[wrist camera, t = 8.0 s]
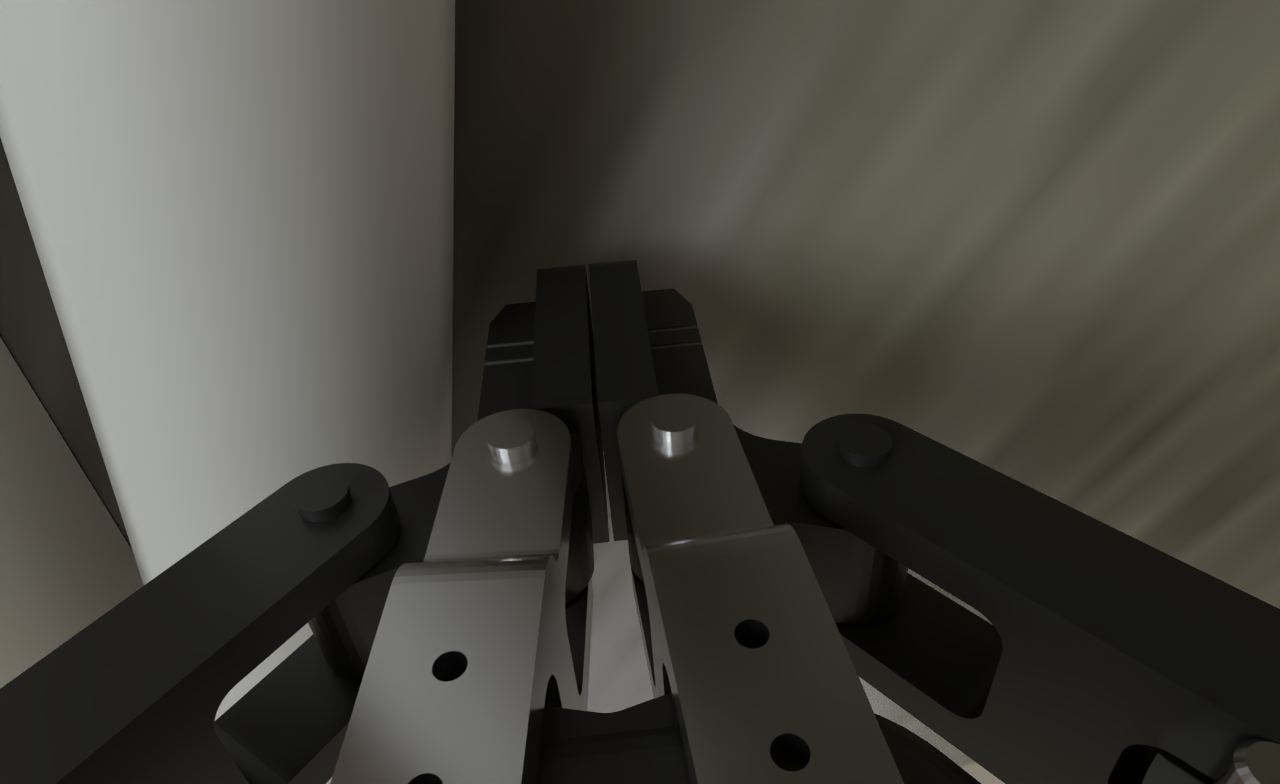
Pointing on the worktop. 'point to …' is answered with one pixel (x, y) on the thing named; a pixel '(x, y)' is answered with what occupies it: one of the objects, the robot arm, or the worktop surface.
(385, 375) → the tube
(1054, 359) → the worktop surface
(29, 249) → the worktop surface
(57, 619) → the long cream box
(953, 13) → the worktop surface
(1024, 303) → the worktop surface
